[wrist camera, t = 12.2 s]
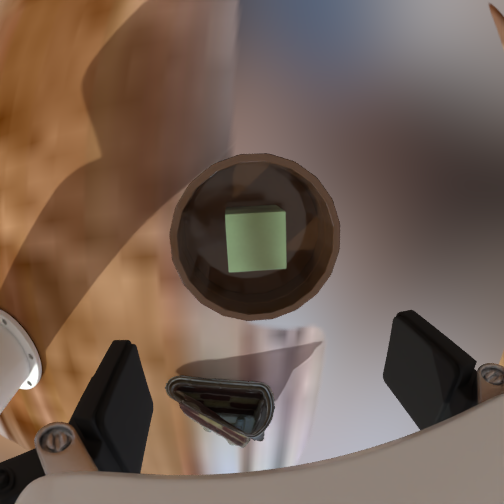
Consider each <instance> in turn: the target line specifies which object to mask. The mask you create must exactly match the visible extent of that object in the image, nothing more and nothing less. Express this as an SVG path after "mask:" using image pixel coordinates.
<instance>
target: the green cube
mask: <svg viewBox="0 0 504 504" xmlns="http://www.w3.org/2000/svg"><path fill="white" fill-rule="evenodd" d="M225 223H226V239H227V254H228V269H229V272H245V271H260V270H275V269H286V268H287V257H286V212H285V211H284V210H283V209H281V208H280V207H278V206H277V205H262V206H242V207H226V208H225Z"/></svg>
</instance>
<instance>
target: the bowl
mask: <svg viewBox="0 0 504 504" xmlns="http://www.w3.org/2000/svg"><path fill="white" fill-rule="evenodd" d="M262 205H277V206H278V207H280V208H281V209H283V210H284V211H285V212H286V257H287V268H286V269H275V270H260V271H245V272H229V269H228V254H227V239H226V223H225V208H226V207H242V206H262ZM170 245H171V254H172V260H173V263H174V265H175V268H176V270H177V272H178V274H179V276H180V278H181V281H182V283H183V284H184V286H185V287H186V288H187V289H188V290H189V291H190V292H191V293H192V294H193V295H194V296H195V298H196V299H197V300H198V301H199V302H200V303H201V304H203V305H205V306H207V307H208V308H210V309H212V310H214V311H216V312H217V313H219V314H221V315H223V316H227V317H232V318H236V319H241V320H246V321H253V320H266V319H273V318H277V317H279V316H282V315H284V314H287V313H290V312H292V311H295V310H296V309H298V308H299V307H301V306H302V305H303V304H304V303H306V302H307V301H308V300H310V299H311V298H313V297H314V296H315V295H316V294H317V293H318V292H319V290H320V289H321V288H322V286H323V285H324V283H325V282H326V281H327V279H328V278H329V277H330V275H331V273H332V271H333V267H334V265H335V262H336V259H337V256H338V253H339V249H340V248H339V247H340V223H339V219H338V216H337V212H336V209H335V206H334V202H333V200H332V198H331V197H330V195H329V194H328V192H327V191H326V189H325V188H324V187H323V185H322V184H321V182H320V181H319V180H318V178H317V177H316V176H314V175H313V174H312V173H310V172H309V171H307V170H306V169H304V168H303V167H302V166H300V165H299V164H298V163H296V162H294V161H291V160H288V159H284V158H282V157H278V156H275V155H272V154H267V153H264V154H240V155H236V156H234V157H231V158H228V159H226V160H223V161H221V162H218V163H215V164H213V165H211V166H210V167H209V168H208V169H206V170H205V171H204V172H203V173H202V174H200V175H199V176H198V177H197V178H196V179H194V180H193V181H192V182H191V183H190V184H189V186H188V187H187V189H186V191H185V192H184V194H183V195H182V197H181V199H180V200H179V202H178V204H177V205H176V208H175V211H174V215H173V220H172V224H171V229H170Z"/></svg>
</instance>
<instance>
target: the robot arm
mask: <svg viewBox="0 0 504 504" xmlns="http://www.w3.org/2000/svg"><path fill="white" fill-rule="evenodd" d="M475 365H476V361H475V360H474V359H473V358H472V357H471V356H469V355H468V354H467V353H466V352H465V351H463V350H462V349H461V348H460V347H459V346H457V345H456V344H455V343H454V342H452V341H451V340H450V339H449V338H448V337H446V336H445V335H444V334H443V333H441V332H440V331H439V330H437V329H436V328H435V327H434V326H432V325H431V324H430V323H429V322H427V321H426V320H425V319H424V318H422V317H421V316H420V315H418V314H417V313H416V312H415V311H413V310H408V311H403V312H399V313H398V314H397V316H396V317H394V319H393V324H392V330H391V336H390V342H389V347H388V352H387V357H386V362H385V367H384V372H383V379H384V381H385V383H386V384H387V386H388V387H389V388H390V390H391V391H392V392H393V394H394V395H395V396H396V398H397V399H398V400H399V402H400V403H401V404H402V406H403V407H404V408H405V410H406V411H407V413H408V414H409V415H410V416H411V418H412V419H413V421H414V422H415V423H416V425H417V426H418V427H419V429H420V431H418V432H415V433H413V434H410V435H407V436H405V437H402V438H399V439H396V440H393V441H390V442H387V443H384V444H381V445H378V446H375V447H372V448H369V449H365V450H362V451H358V452H355V453H351V454H347V455H344V456H339V457H336V458H331V459H326V460H322V461H318V462H312V463H307V464H302V465H296V466H290V467H284V468H277V469H270V470H262V471H254V472H244V473H231V474H213V475H155V474H140V472H141V466H142V461H143V456H144V451H145V446H146V441H147V436H148V432H149V427H150V422H151V418H152V413H153V401H152V398H151V395H150V392H149V389H148V385H147V382H146V379H145V375H144V372H143V368H142V365H141V361H140V358H139V354H138V350H137V347H136V345H135V344H131V342H130V341H129V340H114V341H113V342H112V344H111V346H110V347H109V349H108V351H107V353H106V354H105V356H104V358H103V360H102V362H101V364H100V365H99V367H98V369H97V371H96V373H95V375H94V376H93V377H92V378H91V380H90V382H89V384H88V386H87V388H86V389H85V391H84V393H83V395H82V397H81V399H80V401H79V403H78V405H77V407H76V409H75V411H74V413H73V415H72V417H71V419H70V421H69V423H64V422H54V423H50V424H48V425H46V426H44V427H42V428H41V429H40V430H39V431H38V433H37V434H36V436H35V440H34V441H35V447H36V448H35V449H33V450H30V451H28V452H26V453H23V454H21V455H18V456H16V457H14V458H11V459H8V460H6V461H3V462H1V463H0V504H504V367H503V366H501V365H498V364H494V363H487V364H483V365H482V366H480V367H479V368H478V370H477V371H476V370H475V369H474V368H475ZM41 374H42V366H41V361H40V358H39V355H38V352H37V350H36V348H35V346H34V344H33V342H32V340H31V339H30V337H29V335H28V334H27V333H26V331H25V330H24V329H23V327H22V326H21V325H20V324H19V323H18V322H17V321H16V320H15V319H14V318H12V317H11V316H10V315H9V314H7V313H6V312H4V311H2V310H0V414H1V412H2V411H3V410H4V408H5V407H6V405H7V404H8V403H9V401H10V400H11V399H12V397H13V396H14V395H15V393H16V392H17V391H18V389H19V388H20V389H31V388H33V387H35V385H36V384H37V383H38V382H39V380H40V378H41Z"/></svg>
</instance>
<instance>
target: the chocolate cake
mask: <svg viewBox="0 0 504 504" xmlns="http://www.w3.org/2000/svg"><path fill="white" fill-rule="evenodd" d="M165 389H166V392H167V394H168V395H169V396H170V398H172V399H174V400H175V401H177V402H179V404H180V408H181V409H182V411H183V412H184V414H186V415H187V416H188V417H189V418H191V419H192V420H194V421H195V422H197V423H199V424H200V425H202V426H203V429H204V430H205V431H207V432H211V431H213V432H214V433H216V434H217V435H219V436H222V437H224V438H225V439H226V440H227V441H228V443H229V444H230V445H236V446H239V447H241V448H244V447H245V446H246V445H247V444H248V442H249V441H250V438H251V439H253V440H254V441H255V440H257V441H263V439H264V431H265V430H266V428H267V427H268V426H269V424H270V422H271V420H272V417H273V413H274V409H275V406H274V397H273V393H272V391H271V390H270V387H269V386H268V385H266V384H264V383H260V382H253V381H251V382H246V381H231V380H230V381H228V380H220V379H219V380H217V379H204V378H203V379H202V378H194V377H188V376H183V375H182V376H176V377H172V378H171V379H170V380H169V381H168V383H166V387H165Z"/></svg>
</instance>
